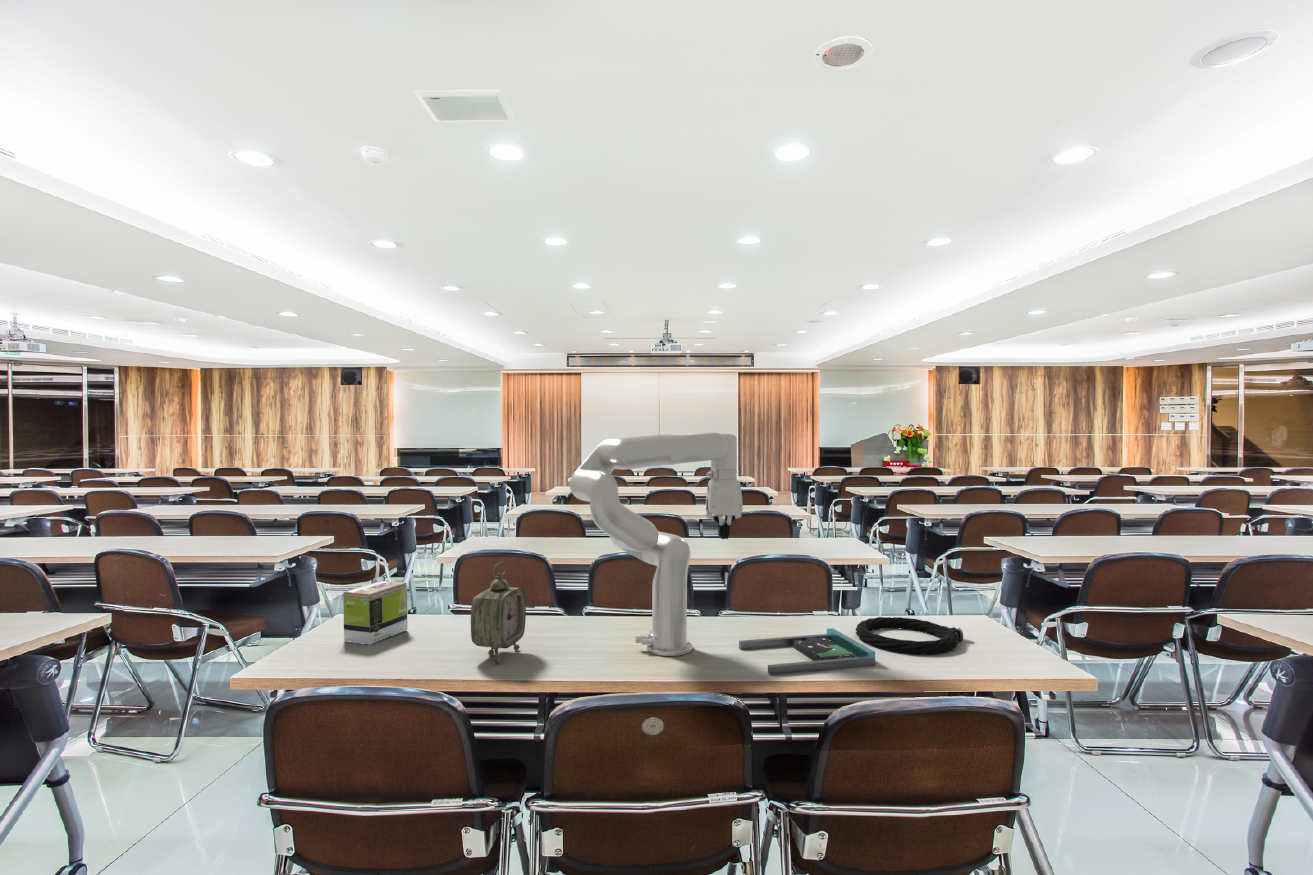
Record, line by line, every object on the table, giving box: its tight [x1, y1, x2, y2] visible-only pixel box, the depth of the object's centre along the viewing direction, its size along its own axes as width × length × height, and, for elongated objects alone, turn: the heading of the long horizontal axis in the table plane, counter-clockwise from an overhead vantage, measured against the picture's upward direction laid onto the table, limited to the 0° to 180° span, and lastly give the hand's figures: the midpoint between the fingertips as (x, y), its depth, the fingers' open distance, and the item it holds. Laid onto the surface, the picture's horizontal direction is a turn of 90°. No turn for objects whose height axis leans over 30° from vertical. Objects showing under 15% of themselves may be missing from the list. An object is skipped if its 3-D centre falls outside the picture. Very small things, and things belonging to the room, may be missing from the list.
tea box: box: [343, 580, 408, 646], centre depth 181 cm, size 15×10×15 cm
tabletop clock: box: [470, 561, 527, 665], centre depth 164 cm, size 14×9×25 cm, turn 166°
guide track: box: [738, 627, 876, 676], centre depth 165 cm, size 29×21×4 cm
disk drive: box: [792, 637, 855, 661], centre depth 166 cm, size 10×3×15 cm
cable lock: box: [855, 616, 964, 656], centre depth 179 cm, size 28×4×30 cm
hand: (723, 538), depth 181 cm, fingers closed
